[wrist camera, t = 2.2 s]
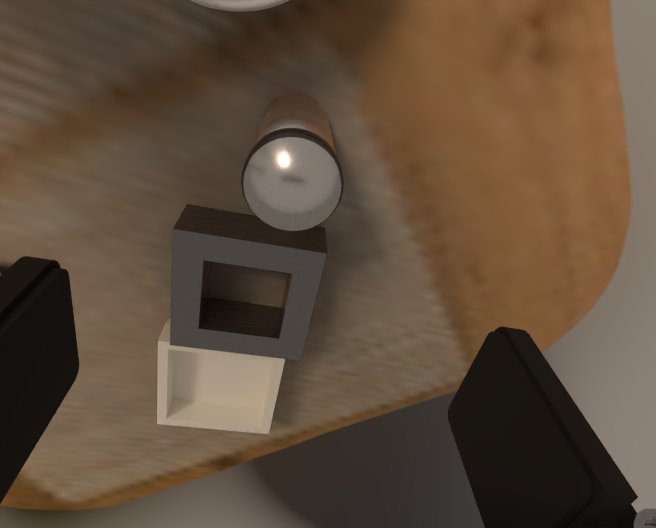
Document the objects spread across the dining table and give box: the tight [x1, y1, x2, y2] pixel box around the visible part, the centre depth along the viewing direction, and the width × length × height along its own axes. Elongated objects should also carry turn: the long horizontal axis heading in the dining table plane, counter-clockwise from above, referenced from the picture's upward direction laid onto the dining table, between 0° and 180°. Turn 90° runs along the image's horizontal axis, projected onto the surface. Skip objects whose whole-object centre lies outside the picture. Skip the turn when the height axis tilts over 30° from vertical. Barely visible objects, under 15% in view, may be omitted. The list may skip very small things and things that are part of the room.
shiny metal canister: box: [241, 94, 343, 231], centre depth 21 cm, size 4×4×9 cm
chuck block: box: [170, 205, 327, 361], centre depth 29 cm, size 9×9×3 cm
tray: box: [157, 317, 285, 434], centre depth 34 cm, size 9×9×3 cm
